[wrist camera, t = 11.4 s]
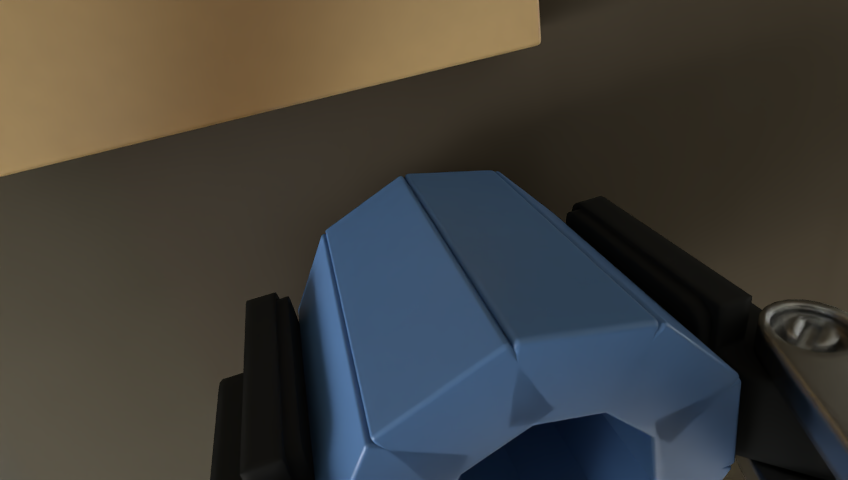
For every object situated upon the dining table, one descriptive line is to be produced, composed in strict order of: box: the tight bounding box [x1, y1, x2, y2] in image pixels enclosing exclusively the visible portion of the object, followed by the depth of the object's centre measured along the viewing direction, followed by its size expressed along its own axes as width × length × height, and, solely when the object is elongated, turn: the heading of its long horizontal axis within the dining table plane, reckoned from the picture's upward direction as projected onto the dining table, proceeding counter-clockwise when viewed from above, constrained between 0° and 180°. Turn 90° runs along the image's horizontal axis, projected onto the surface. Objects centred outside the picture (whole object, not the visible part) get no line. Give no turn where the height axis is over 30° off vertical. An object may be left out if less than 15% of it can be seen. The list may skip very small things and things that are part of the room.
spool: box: [298, 170, 741, 480], centre depth 9 cm, size 6×6×5 cm
